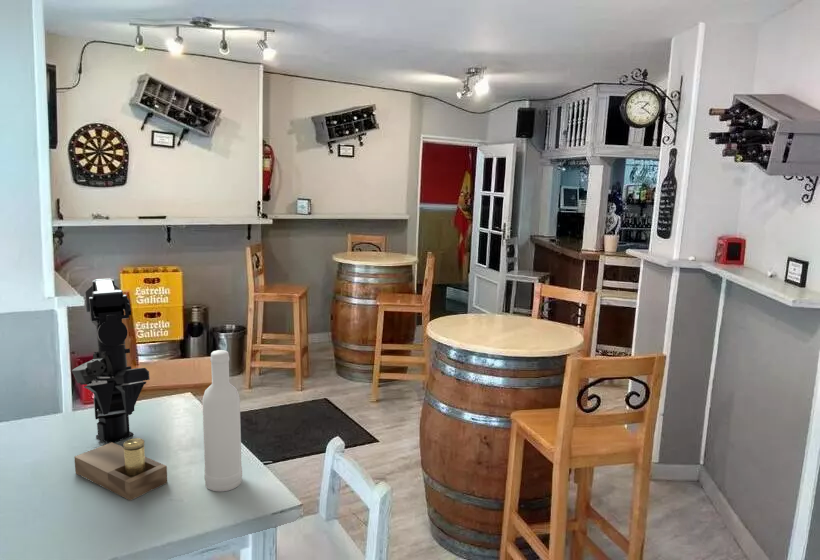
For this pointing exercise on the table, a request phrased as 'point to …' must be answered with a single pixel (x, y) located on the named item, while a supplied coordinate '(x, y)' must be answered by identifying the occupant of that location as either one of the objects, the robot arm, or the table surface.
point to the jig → (119, 471)
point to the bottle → (221, 428)
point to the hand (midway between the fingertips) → (117, 414)
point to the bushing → (134, 457)
